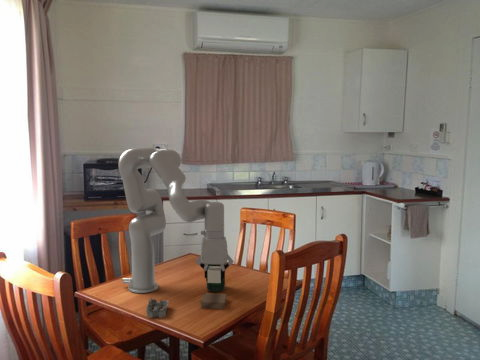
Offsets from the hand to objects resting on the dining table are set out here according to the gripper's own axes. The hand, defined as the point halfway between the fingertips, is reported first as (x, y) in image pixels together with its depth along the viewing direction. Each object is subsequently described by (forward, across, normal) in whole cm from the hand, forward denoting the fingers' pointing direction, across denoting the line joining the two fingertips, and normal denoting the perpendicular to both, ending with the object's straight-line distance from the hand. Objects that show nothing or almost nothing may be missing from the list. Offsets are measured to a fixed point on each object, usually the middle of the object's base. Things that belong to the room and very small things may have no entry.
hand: (214, 279), depth 174 cm
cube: (+1, 0, 0) cm, 1 cm away
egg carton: (+10, -20, -9) cm, 25 cm away
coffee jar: (+10, -1, +17) cm, 20 cm away
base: (+11, 0, 0) cm, 11 cm away
